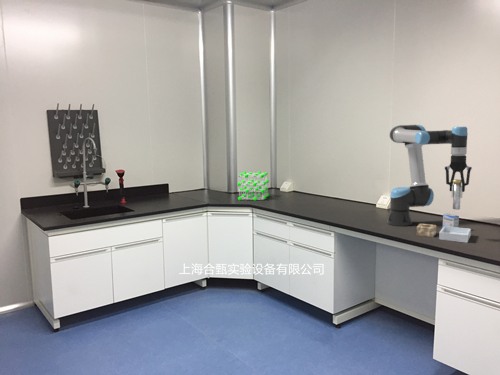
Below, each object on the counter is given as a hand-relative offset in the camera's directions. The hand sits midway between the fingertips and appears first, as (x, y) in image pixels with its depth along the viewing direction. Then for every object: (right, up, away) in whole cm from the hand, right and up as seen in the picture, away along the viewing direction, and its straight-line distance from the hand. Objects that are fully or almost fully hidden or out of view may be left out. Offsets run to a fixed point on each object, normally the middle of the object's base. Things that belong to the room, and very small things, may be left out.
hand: (456, 197), depth 223 cm
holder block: (-12, -22, +12) cm, 28 cm away
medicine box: (+8, -20, +23) cm, 31 cm away
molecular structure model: (-111, -5, +150) cm, 187 cm away
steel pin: (0, -7, +1) cm, 7 cm away
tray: (+1, -23, +3) cm, 23 cm away
